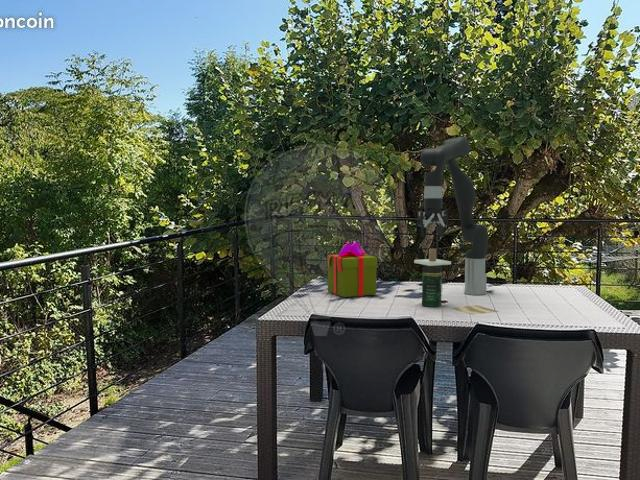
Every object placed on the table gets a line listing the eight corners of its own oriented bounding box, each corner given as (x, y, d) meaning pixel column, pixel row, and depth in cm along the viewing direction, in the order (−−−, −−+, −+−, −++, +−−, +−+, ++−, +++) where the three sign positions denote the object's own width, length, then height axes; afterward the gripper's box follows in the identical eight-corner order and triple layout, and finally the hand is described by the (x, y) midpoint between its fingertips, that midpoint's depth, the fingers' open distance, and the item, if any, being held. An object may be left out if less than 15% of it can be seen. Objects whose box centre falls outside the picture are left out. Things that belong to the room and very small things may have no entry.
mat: (476, 307, 242) (476, 305, 242) (499, 313, 230) (499, 311, 230) (449, 309, 237) (449, 307, 237) (471, 316, 224) (471, 314, 224)
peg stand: (435, 261, 248) (435, 247, 248) (451, 264, 238) (451, 249, 238) (414, 262, 244) (414, 248, 243) (429, 265, 234) (429, 250, 233)
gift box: (321, 293, 276) (321, 241, 274) (354, 289, 288) (354, 239, 286) (348, 299, 259) (348, 244, 257) (382, 294, 272) (382, 242, 270)
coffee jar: (439, 309, 237) (440, 265, 235) (420, 308, 239) (420, 264, 238) (442, 305, 246) (443, 262, 244) (424, 304, 248) (424, 261, 247)
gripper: (441, 197, 245) (441, 235, 246) (413, 197, 239) (413, 236, 240) (452, 197, 238) (452, 236, 240) (424, 197, 232) (423, 237, 234)
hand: (432, 236), depth 240 cm, fingers open, 8 cm apart
